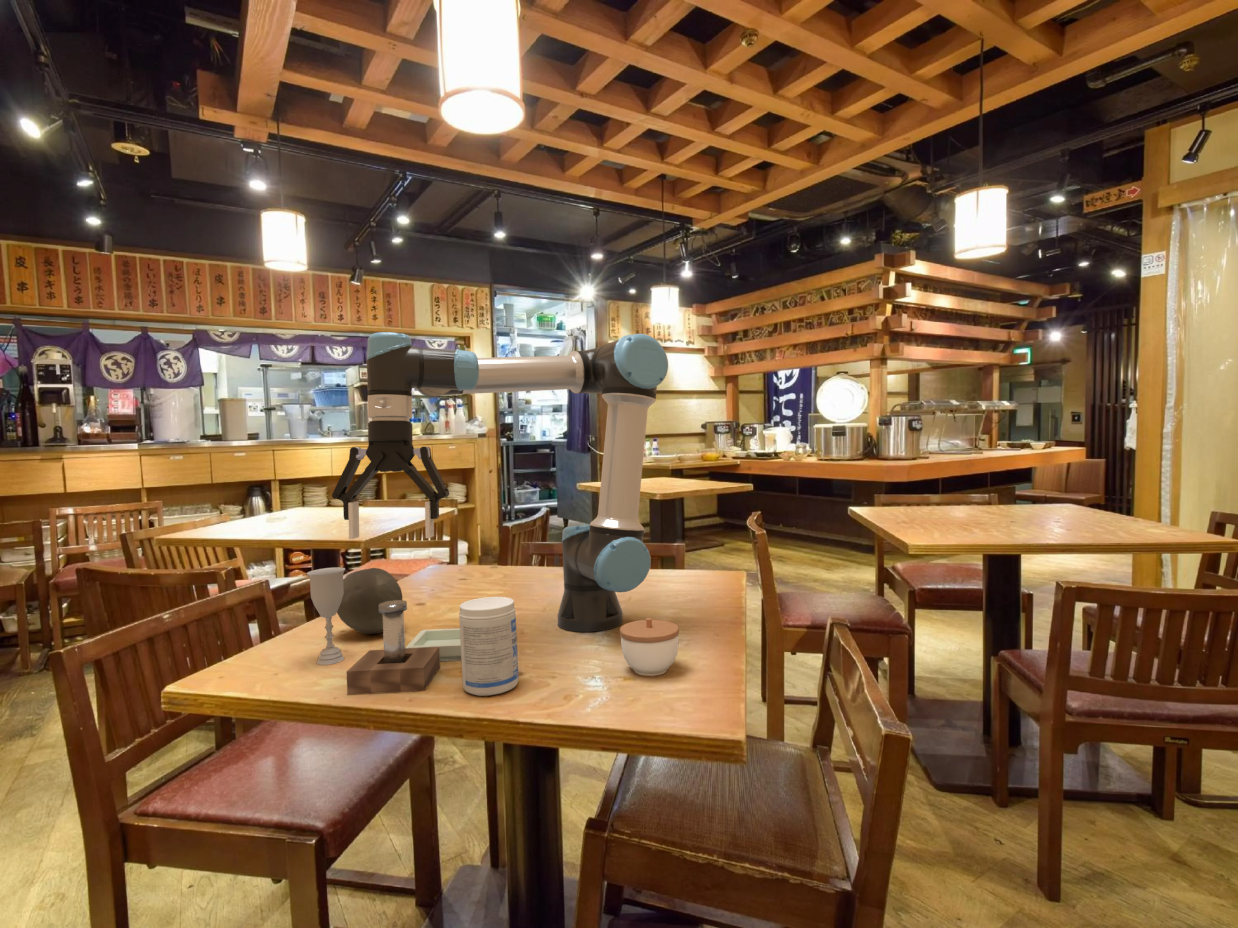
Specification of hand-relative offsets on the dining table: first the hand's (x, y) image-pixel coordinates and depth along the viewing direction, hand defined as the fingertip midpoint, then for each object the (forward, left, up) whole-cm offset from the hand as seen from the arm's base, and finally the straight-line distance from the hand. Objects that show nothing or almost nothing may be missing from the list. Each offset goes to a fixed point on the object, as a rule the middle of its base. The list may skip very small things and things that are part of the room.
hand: (392, 537), depth 111 cm
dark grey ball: (+15, -29, -26) cm, 42 cm away
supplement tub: (-18, +6, -26) cm, 32 cm away
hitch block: (0, +1, -26) cm, 26 cm away
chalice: (+17, -12, -26) cm, 33 cm away
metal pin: (0, +1, -26) cm, 26 cm away
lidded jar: (-46, +2, -26) cm, 53 cm away
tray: (-6, -14, -26) cm, 30 cm away
